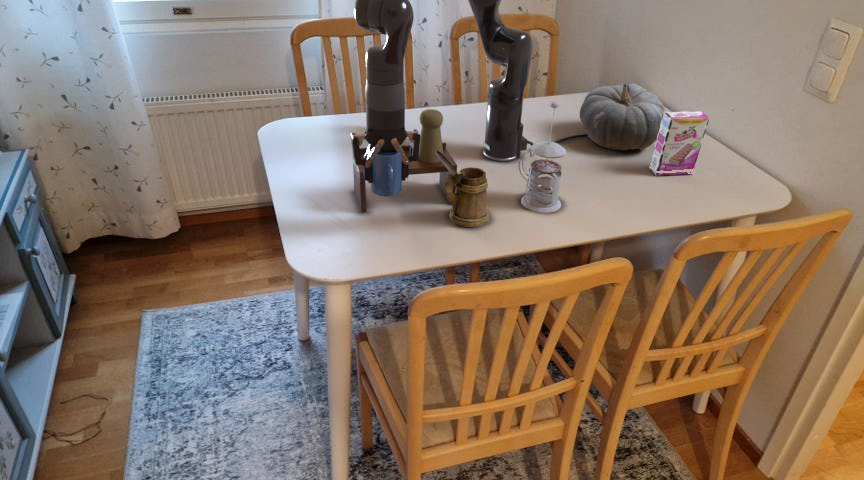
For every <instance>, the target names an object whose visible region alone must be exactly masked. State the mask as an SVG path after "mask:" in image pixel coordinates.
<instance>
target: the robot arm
mask: <svg viewBox="0 0 864 480" xmlns="http://www.w3.org/2000/svg"><path fill="white" fill-rule="evenodd" d="M467 1H468V3H469V4H468V5H469V7H470V9H471V11H472V14H473V17H474V20H475V23H476V25H477V29H478V32H479V36H480V40H481V44H482V48H483V50H484V53H485V56H486V58H487V59H488V60H489V61H490V62H492V63H493V64H495V65H498V66H501V67H504V68H506V69H505V74H504V75H505V76H497V77H495V78H492V79H491V80H490V81H489V84H488V94H487V105H486V107H487V108H486V117H485V119H486V120H485V131H484V142H483V152H482V153H483V156H484V157H485V158H487V159H489V160H491V161H494V162H511V161H514V160H516V159H520V157H521V151H522V152H523V151H528V150H527V148H528V145H530V147H531V146H532V145H533V144H534V142H532V141H530V140H529V139H527V138H526V137H525V136H524V135H523V132H524V124H523V122H522V116H523V106H524V97H525V90H526V87H527V84H528V81H529V75H530V70H531V64H532V58H533V51H534V49H533V48H534V43H533V38H532V36H531V34H530V33H528V32H527V31H524V30H521V29H518V28H513V27H509V26H507V25H506V24H505V23H504V21H503V19H502V17H501V14H500V13H501V12H500V9H499V8H500V5H501V2H502V0H467ZM353 16H354V20H355V22H356V24H357V25H358V26H359V28H360V29H362V30H364V31H366V32H370V33H376V34H379V35H385V36H386V42H385V44H377V45H372V46H370V47H368V48H367V50H366V52H365V78H366V79H365V88H364V89H365V92H364V94H365V95H364V102H365V123H366V124H365V125H366V127H365V130H364V132H363V133H356V132H351V133H350V142H351V150H352V149H353V152H352V157H353V156H354V160H355V163H356V164H357V165H363V171H364V178H365V182H367V183H368V184H371V183H372V167H371V164H372V162H373V161H372V159H373V158H374V154H378V153H379V152H389V151H397V152H398V153H401V157H402V182H404V181H406V180H407V178H409V176H410V175H409V163H410V162H412V161H417V160H418V154H419V146H420V137H421V136H420V135H421V133H420V132H419V131H418V130H417V129H415V128H414V129H413V130H406V91H405V90H406V89H405V81H404V80H405V79H404V77H405V76H404V75H405V73H404V66H405V65H404V62H405V61H404V60H405V54H406V51H407V47H408V42H409V40H410V39H409V38H410V36H411V32H412V27H413V24H414V18H415V14H414V8H413V6H412V3H411V2H410V0H355V3H354V7H353ZM580 138H590V137H589V136H588V135H587V133H583V134H582V133H581V134H576V135H570V136H567V137H566V136H565V137H563V138H560V139H558V140H554V141H553V142H555V143H557V144H559V143H562V142H565V141H569V140H574V139H580ZM406 139H408V140H409V142H410V145H411V146H410V153H409V154H407V155H406V154H405V152H404V151H403V149H402V147H401V145H403V144H404V142H405V141H406ZM364 141H366V142H367V143H368V146H367V147H366V148H367V152H366V154H365V156H364V157H361V154H360V148H361V146H362V145H363V142H364ZM372 148H373V150H372V151H370V149H372Z"/></svg>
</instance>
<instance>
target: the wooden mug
mask: <svg viewBox="0 0 864 480" xmlns="http://www.w3.org/2000/svg"><path fill="white" fill-rule="evenodd" d="M436 155H437V156H438V158H439V159H440V160H441V161H442V163H443V164H444V165H445V166H446V168H447V169H448V170H449V172H450V173H449V175H448V177H447V180H446V183H445V192H446V195H447V197H448V199H449V200H450V202H451V204H450V205H451V207H450V211H449V218H450V220H451V221H452V222H453V223H454V224H455V225H457V226H460V227H464V228H479V227H482V226H484V225H486V224H487V223H488V222H489V220H490V212H489V209H488V196H487V195H488V194H487V193H488V192H487V189H488V186H489V185H488V179H487V173H486V172H485V170H483V169H482V168H479V167H466V168H462V169H460V170H459V171H458V170H457V171H456V169H455V168H454V167H453V165H452V164H451V163H450V162H449V160H448V159H447V158H446V157H445V156H444V155H443V154H442V153H441V152H440V151H438V150H436ZM454 185H455V186H456V191H455V194H454V193H453V192H452V189H453V186H454Z"/></svg>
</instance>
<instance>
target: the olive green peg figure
mask: <svg viewBox="0 0 864 480" xmlns="http://www.w3.org/2000/svg"><path fill="white" fill-rule="evenodd" d="M443 122H444V116H443V114H442V112H441V111H440V110H437V109H433V108H430V109H429V108H428V109H424V110H422V111H421V113H420V115H419V124H420V125H421V129H420V136H421V137H420V146H419V154H418V159H419V160H420V161H422V162H426V163H436V162H440V161H441V160H440V159H439V158H438V156H437V155H436V150H438V151H440V152H441V153H442V154H443V148H442V143H443V139H442V129H441V126H442V125H443Z"/></svg>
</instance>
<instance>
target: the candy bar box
mask: <svg viewBox="0 0 864 480" xmlns="http://www.w3.org/2000/svg"><path fill="white" fill-rule="evenodd" d="M709 121H710V117H709V115H708V116H707V115H706V114H705V113H704V112H702V111H700V110H699V111H697V110H695V111H664V112H663V116H662V120H661V124H660V127H659V131H658V135H657V139H656V141H655V142H654V147H653V151H652V155H651V158H650V163H649V167H648V169H649V170H650V171H651V172H652V174H654V175H655V176H656V177H658V176H659V177H661V176H663V177H665V176H685V175H686V176H688V175H690V174H688V173H687V172H676V173H656V172H655V171H654V170H653V169H652V168H651V167H650V165H651V166H652V167H653V168H654V169H655V170H656V171H672V170H684V169H693V168H694V169H695V167H696V164H697V161H698V158H699V157H698V156H699V154H700V151H701V147H702V144H703V141H704V138H705V134H706V132H707V128H708V125H709ZM690 173H691V172H690Z"/></svg>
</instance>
